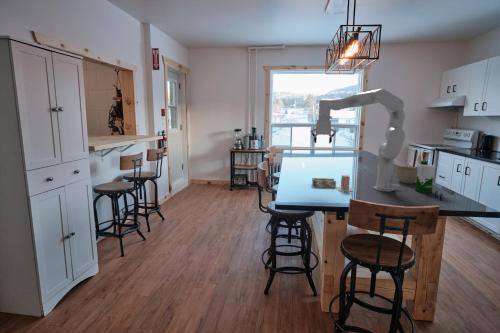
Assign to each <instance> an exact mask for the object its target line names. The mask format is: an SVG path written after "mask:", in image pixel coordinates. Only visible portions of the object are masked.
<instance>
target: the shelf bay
mask: <svg viewBox="0 0 500 333" xmlns="http://www.w3.org/2000/svg"><path fill="white" fill-rule="evenodd" d="M311 185H312V186H313V187H314V188H330V189H331V188H332V189H334V188H336V187H337V181H336V180H335V178H330V177H329V178H327V177H326V178H324V177H312V181H311ZM336 189H337V188H336Z"/></svg>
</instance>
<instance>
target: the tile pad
mask: <svg viewBox="0 0 500 333" xmlns="http://www.w3.org/2000/svg"><path fill="white" fill-rule="evenodd" d="M336 190H338V192H350V193H351V192H352V193H353V192H354V190H353V189H352V188H351V187H350V186H349V190H342V189H341V186H336Z"/></svg>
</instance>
